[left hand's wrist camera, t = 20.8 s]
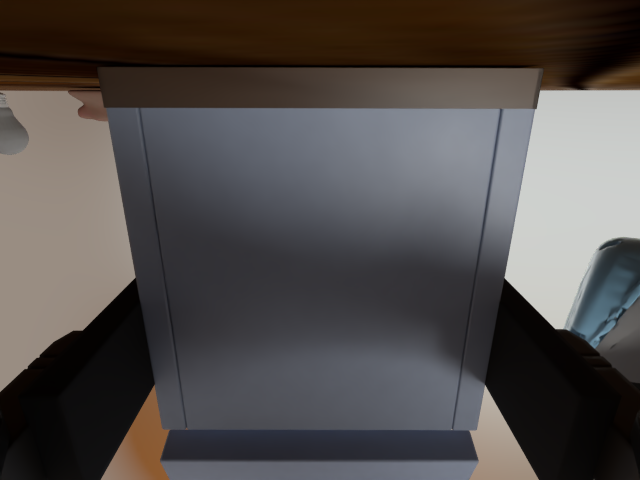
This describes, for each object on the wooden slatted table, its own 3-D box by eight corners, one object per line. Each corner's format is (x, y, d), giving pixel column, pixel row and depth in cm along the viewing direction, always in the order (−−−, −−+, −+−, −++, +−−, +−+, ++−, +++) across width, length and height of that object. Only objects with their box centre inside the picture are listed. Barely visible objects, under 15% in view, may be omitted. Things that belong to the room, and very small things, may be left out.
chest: (396, 86, 25) (386, 237, 28) (243, 85, 25) (252, 237, 28) (544, 67, 8) (477, 431, 12) (96, 66, 8) (161, 430, 12)
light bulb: (6, 91, 61) (23, 156, 65) (23, 91, 66) (38, 151, 70) (-39, 91, 60) (-20, 157, 63) (-18, 91, 65) (0, 152, 69)
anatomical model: (75, 138, 35) (206, 132, 40) (65, 89, 33) (202, 90, 38) (77, 127, 45) (179, 124, 51) (69, 90, 44) (176, 90, 49)
